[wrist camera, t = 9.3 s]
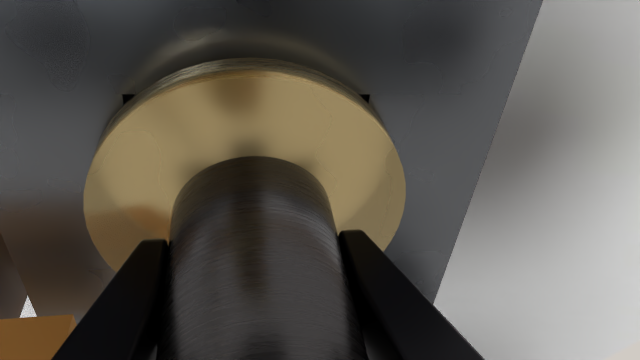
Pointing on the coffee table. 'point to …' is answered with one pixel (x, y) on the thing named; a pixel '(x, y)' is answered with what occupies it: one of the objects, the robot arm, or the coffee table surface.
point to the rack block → (10, 286)
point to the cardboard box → (34, 336)
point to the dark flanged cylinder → (247, 205)
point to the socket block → (243, 42)
